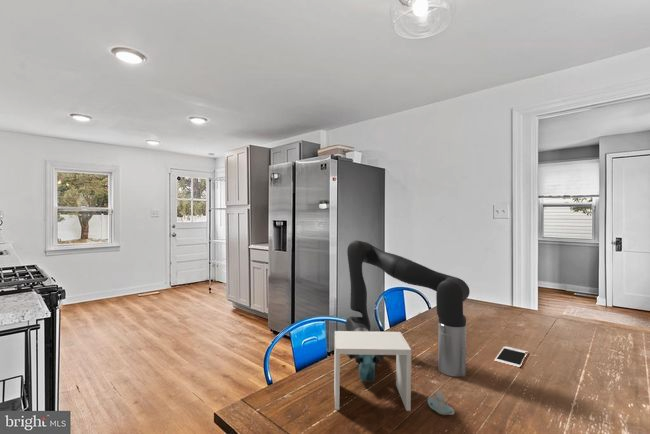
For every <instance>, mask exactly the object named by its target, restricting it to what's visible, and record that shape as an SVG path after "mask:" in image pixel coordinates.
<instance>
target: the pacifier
mask: <svg viewBox="0 0 650 434" xmlns="http://www.w3.org/2000/svg"><path fill="white" fill-rule="evenodd" d="M427 404H428V405H427V406H429V407H430V408H431V409H432V410H433V411H435V413H437V414H439V415H442V416H446V415H447V416H453V415H455V410H454V409H453V407H452V406H449V405H448V404H446V403H445V396H444V394H443V393H442V391H441V390H438V389H436V390H435V392H434V397H428V398H427Z"/></svg>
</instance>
